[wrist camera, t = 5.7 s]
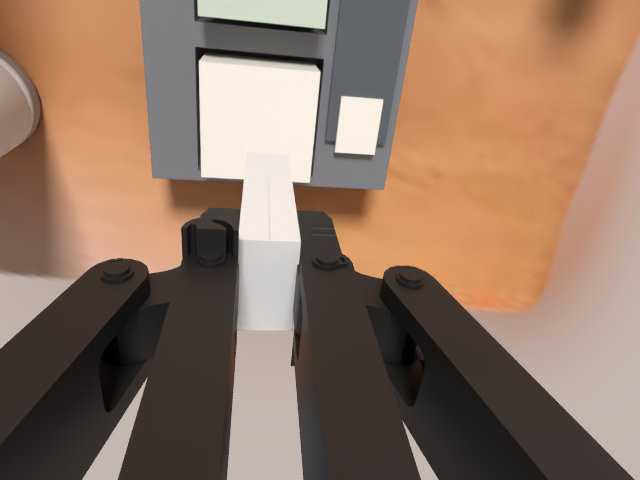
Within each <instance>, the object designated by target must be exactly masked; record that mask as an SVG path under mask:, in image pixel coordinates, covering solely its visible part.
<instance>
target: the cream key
mask: <svg viewBox="0 0 640 480" xmlns="http://www.w3.org/2000/svg"><path fill="white" fill-rule="evenodd" d="M320 73H321V72H320V71H319V69H318V68H317V66H316V65H315V64H314V62H305V61H294V60H283V59H273V58H262V57H251V56H240V55H229V54H219V53H208V52H206V53H205V54H204V55H203V56H202V58H201V59H200V60H199V95H200V143H201V177H207V178H226V179H244V175H245V165H246V155H247V153H262V154H278V155H288V156H289V163H290V170H291V177H292V182H302V183H310V176H311V165H312V155H313V145H314V135H315V125H316V114H317V104H318V94H319V84H320Z"/></svg>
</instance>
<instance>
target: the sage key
mask: <svg viewBox="0 0 640 480" xmlns="http://www.w3.org/2000/svg"><path fill="white" fill-rule="evenodd" d="M327 2H328V0H198V16H204V17H214V18H223V19H233V20H242V21H252V22H262V23H271V24H281V25H291V26H300V27H310V28H319V29H325V22H326V12H327Z"/></svg>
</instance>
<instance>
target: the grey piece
mask: <svg viewBox="0 0 640 480" xmlns="http://www.w3.org/2000/svg"><path fill="white" fill-rule="evenodd" d="M417 3H418V0H328V2H327V12H326V22H325V29H319V28H310V27H300V26H291V25H281V24H271V23H262V22H252V21H242V20H233V19H223V18H214V17H204V16H198V0H140V13H141V27H142V40H143V54H144V67H145V81H146V95H147V108H148V122H149V135H150V149H151V162H152V176H153V178H161V179H181V180H200V181H219V182H239V183H244V179H226V178H207V177H201V143H200V95H199V60H200V59H201V58H202V56H203V55H204V54H205V53H206V52H208V53H219V54H229V55H240V56H251V57H262V58H273V59H283V60H294V61H305V62H314V64H315V65H316V66H317V68H318V69H319V71H320V72H321V73H320V84H319V94H318V104H317V114H316V125H315V135H314V145H313V155H312V165H311V176H310V183H302V182H292V184H293V185H297V186H316V187H335V188H355V189H374V190H384V186H385V180H386V175H387V169H388V164H389V158H390V152H391V147H392V141H393V136H394V130H395V125H396V119H397V114H398V108H399V103H400V97H401V91H402V86H403V80H404V75H405V69H406V64H407V58H408V53H409V47H410V42H411V36H412V30H413V25H414V19H415V14H416V8H417Z"/></svg>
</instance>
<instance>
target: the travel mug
mask: <svg viewBox="0 0 640 480" xmlns="http://www.w3.org/2000/svg"><path fill="white" fill-rule="evenodd" d="M40 109H41V108H40V101H39V96H38V94H37V91H36V88H35V86H34V84H33V82H32V81H31V79H30V77H29V76H28V74H27V73H26V72H25V71H24V69H23V68H22V67H21V66H20V65H19V64H18V63H17V62H16V61H15V60H14V59H12V58H11V57H10V56H8V55H7V54H5V53H4V52H2V51H1V50H0V157H2V156H3V155H5V154H6V153H8V152H9V151H11V150H12V149H14V148H15V147H17V146H18V145H20V144H21V143H23V142H24V141H26V140H27V139H28V138H29V137H30V136H31V135H32V134H33V132H34V131H35V129H36V128H37V125H38V122H39V119H40Z"/></svg>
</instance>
